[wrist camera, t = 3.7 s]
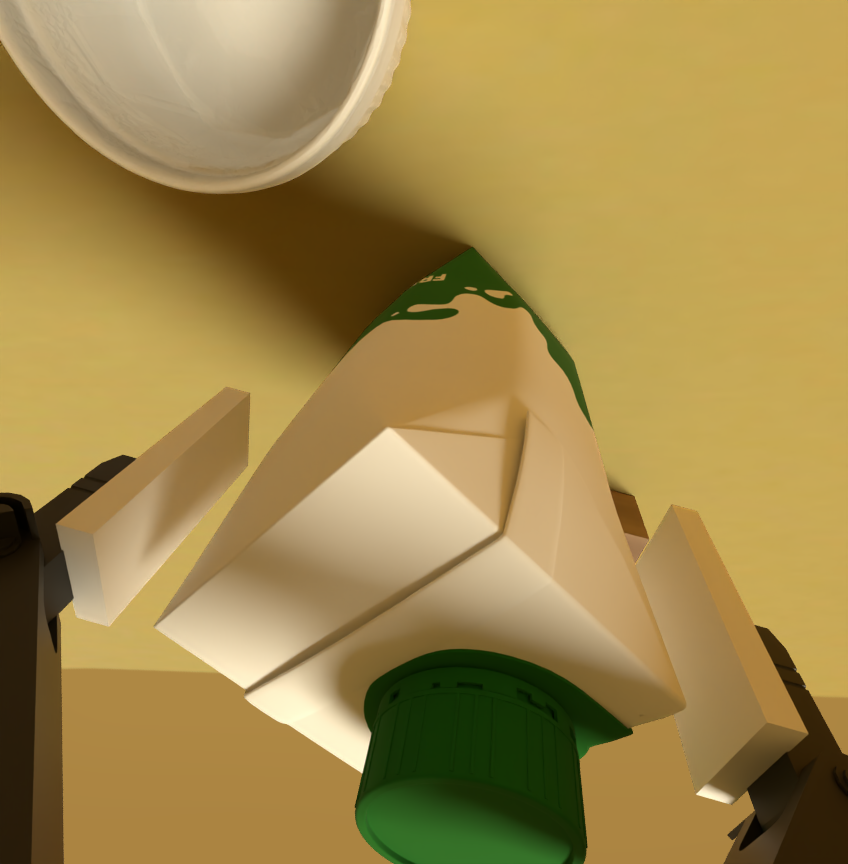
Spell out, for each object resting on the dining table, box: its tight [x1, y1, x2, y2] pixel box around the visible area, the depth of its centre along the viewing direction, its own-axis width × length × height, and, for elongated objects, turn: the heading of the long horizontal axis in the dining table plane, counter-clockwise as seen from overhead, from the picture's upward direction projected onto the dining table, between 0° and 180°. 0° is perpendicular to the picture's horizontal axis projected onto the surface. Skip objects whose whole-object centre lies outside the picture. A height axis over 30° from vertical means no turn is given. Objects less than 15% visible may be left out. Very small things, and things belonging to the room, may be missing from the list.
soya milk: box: [154, 247, 686, 864], centre depth 17 cm, size 9×9×20 cm
